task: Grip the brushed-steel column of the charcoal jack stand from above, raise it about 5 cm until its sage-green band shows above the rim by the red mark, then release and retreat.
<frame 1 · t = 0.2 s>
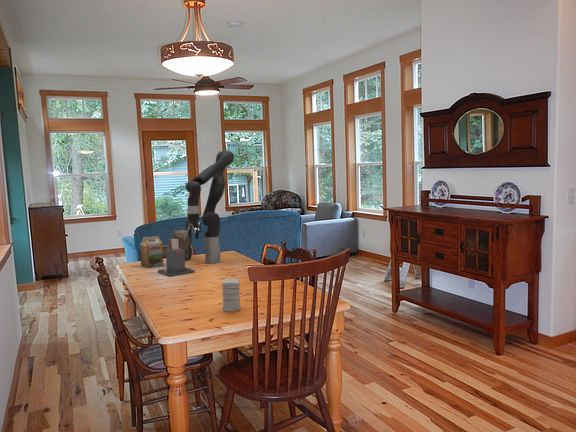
hand: (193, 238, 306), 18 cm above the table, tool pointing down, fingers open, 8 cm apart
wooden block: (176, 267, 305), on the table
column: (175, 254, 286), point 11 cm above the table, slide at 0.0 cm
milk carton: (152, 266, 309), on the table
stand housing: (176, 272, 287), on the table
supplement box: (231, 309, 210), on the table
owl: (183, 259, 329), on the table
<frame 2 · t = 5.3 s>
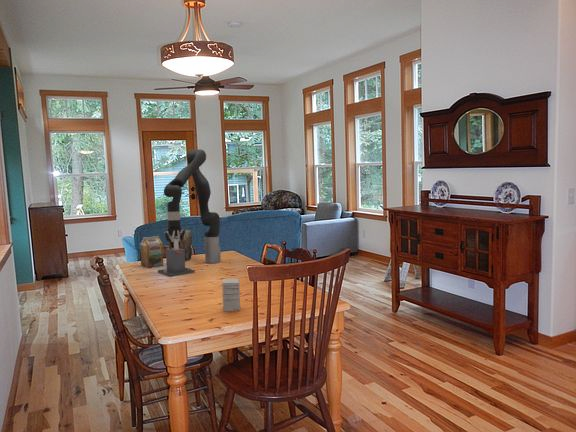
hand: (175, 247, 286), 15 cm above the table, tool pointing down, fingers closed on column, 3 cm apart
column: (175, 254, 286), point 11 cm above the table, slide at 0.0 cm, touching gripper
everything else where it was.
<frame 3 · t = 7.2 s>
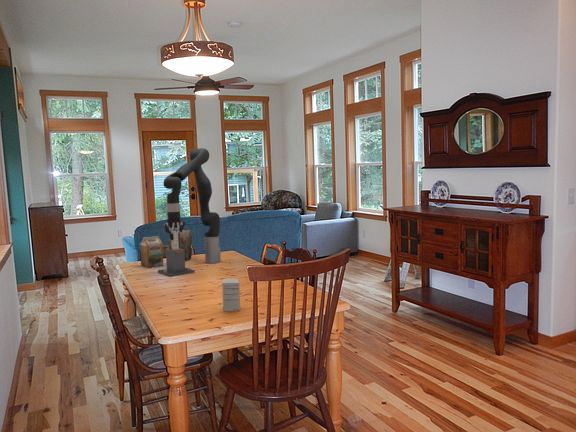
hand: (174, 239, 285), 20 cm above the table, tool pointing down, fingers closed on column, 3 cm apart
column: (175, 246, 285), point 16 cm above the table, slide at 4.8 cm, touching gripper
everything else where it was.
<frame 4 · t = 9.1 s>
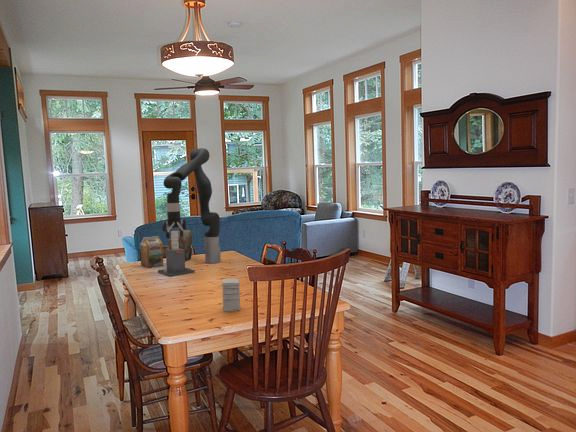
hand: (174, 237, 285), 21 cm above the table, tool pointing down, fingers open, 8 cm apart
column: (175, 246, 285), point 16 cm above the table, slide at 5.0 cm
everything else where it was.
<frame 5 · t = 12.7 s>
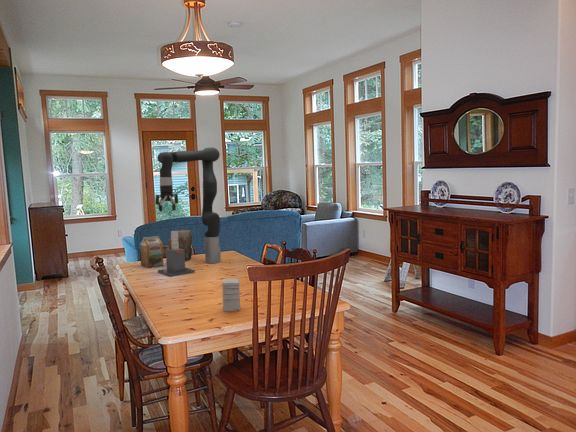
hand: (167, 211, 296), 36 cm above the table, tool pointing down, fingers open, 8 cm apart
nothing on the table moved.
at the end: column slide at 5.0 cm; the gripper is holding nothing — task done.
